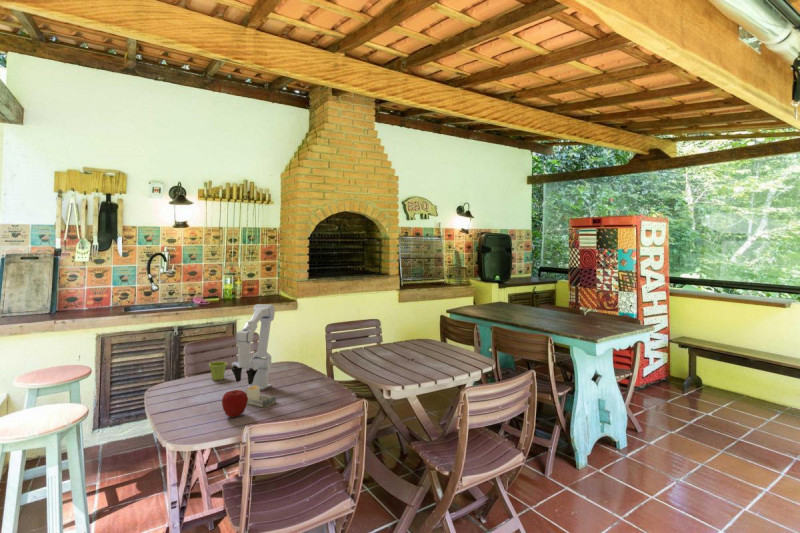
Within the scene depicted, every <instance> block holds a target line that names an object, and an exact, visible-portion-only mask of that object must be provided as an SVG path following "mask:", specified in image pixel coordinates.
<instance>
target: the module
mask: <svg viewBox="0 0 800 533" xmlns="http://www.w3.org/2000/svg"><path fill="white" fill-rule="evenodd" d="M260 391H261V390H260V387H259V386H252V387H247V388H246V394H247V397H248V398H250V399H255V400H259V399H260V395H261V392H260Z"/></svg>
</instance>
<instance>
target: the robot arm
mask: <svg viewBox="0 0 800 533" xmlns="http://www.w3.org/2000/svg"><path fill="white" fill-rule="evenodd" d="M252 311H253V314H252V316H251V318H250V320H247V321H246V323H245V325H244V326H243V328H242V329H241V330H239V331H237V332H236V335H235V342H236V346H237V359H238V360H237V361H234V362H231V371H232V374H233V375H234V378H235V381H236V383H240V382H241V380H242V372H243V369H247V370H246V372H245V373H246V374H247V380H248V381H247V383H248V386H247V388H249V387H252V386H259V387H260V391H261V390H265V389H267V388H269V387H271V386H272V384H271V383H270V384H269V370H271V367H272V355H271V354H270V353H269V352H268V344H269V338H270V330H271V323H272V321H274V320H275V314H276V309H275V305H274V304H260V303H259V304H258V303H256V304H255V305H254V306H253V310H252ZM259 322H260V327H259V328H260V330H259V336H258V344H257V350H256V352H255V353H253V354H252V351H251V350H252V349H251V347H252V346H251V343H252V341H253V339H254V333H255V332H256V330H257V328H258V323H259ZM251 355H252V356H251Z"/></svg>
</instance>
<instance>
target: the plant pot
mask: <svg viewBox="0 0 800 533" xmlns="http://www.w3.org/2000/svg"><path fill="white" fill-rule="evenodd" d="M227 364H228V362H227V361H226V362H225V361H215V362H214V361H213V362H210V363H209V364H208V366H209V369H210V374H211V380H212V381H221V380H223V379H224V378H225V371H226V367H227Z"/></svg>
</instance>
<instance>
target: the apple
mask: <svg viewBox="0 0 800 533" xmlns="http://www.w3.org/2000/svg"><path fill="white" fill-rule="evenodd" d="M247 401H248V397H247V392H245V391H243V390H241V389H234V390H230V391H226V392H225V394H223V396H222V399H221V405H222V409H223V411H224V414H225V415H226V416H228V417H230V418H237V417H239V416H241V414H244V413H245V410H246V407H247V406H248V404H247Z"/></svg>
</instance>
